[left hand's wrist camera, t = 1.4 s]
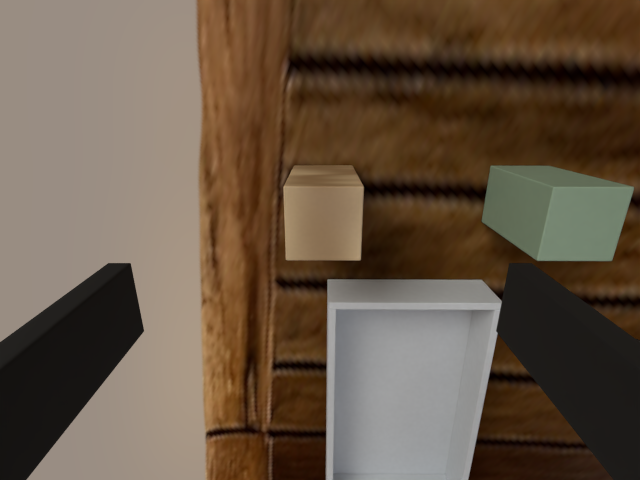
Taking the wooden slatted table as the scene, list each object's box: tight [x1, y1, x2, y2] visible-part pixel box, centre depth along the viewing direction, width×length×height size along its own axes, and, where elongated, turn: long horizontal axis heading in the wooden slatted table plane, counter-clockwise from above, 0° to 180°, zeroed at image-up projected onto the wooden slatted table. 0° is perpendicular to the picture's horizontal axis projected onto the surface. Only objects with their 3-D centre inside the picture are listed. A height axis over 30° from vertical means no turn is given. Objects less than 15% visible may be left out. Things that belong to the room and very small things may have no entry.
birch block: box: [283, 165, 364, 260], centre depth 24 cm, size 4×4×8 cm
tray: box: [326, 279, 502, 480], centre depth 32 cm, size 32×13×10 cm, turn 0°
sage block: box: [482, 166, 634, 261], centre depth 24 cm, size 4×4×8 cm
